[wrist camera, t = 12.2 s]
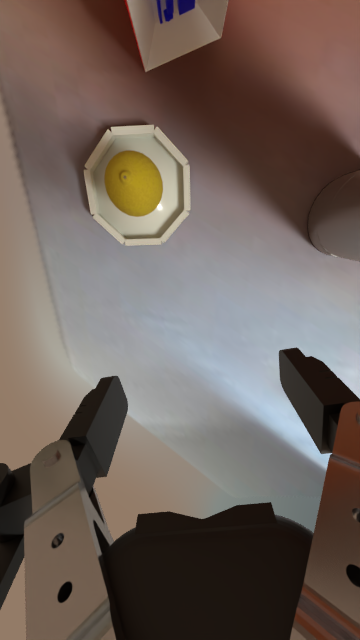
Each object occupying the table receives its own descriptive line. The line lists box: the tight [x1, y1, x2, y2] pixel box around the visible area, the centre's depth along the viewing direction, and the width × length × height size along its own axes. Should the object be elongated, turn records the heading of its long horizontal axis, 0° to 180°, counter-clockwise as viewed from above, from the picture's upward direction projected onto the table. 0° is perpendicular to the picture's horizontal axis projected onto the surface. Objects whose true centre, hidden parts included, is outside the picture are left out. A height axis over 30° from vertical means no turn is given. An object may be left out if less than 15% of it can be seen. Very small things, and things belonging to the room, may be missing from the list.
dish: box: [83, 125, 190, 246], centre depth 26 cm, size 12×12×2 cm
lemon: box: [104, 150, 163, 217], centre depth 22 cm, size 6×6×8 cm
